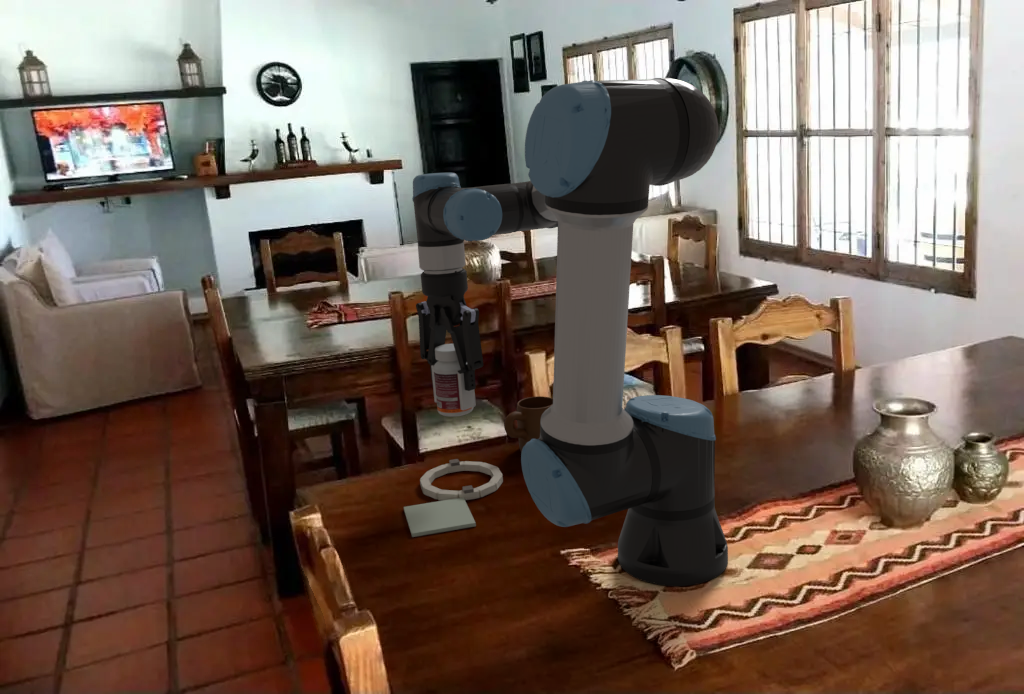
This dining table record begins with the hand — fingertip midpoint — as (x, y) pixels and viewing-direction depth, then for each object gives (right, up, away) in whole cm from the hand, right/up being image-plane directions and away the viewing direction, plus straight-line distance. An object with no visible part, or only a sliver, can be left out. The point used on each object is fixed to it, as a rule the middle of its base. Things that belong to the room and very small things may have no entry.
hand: (454, 403), depth 147 cm
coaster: (-2, -18, -9) cm, 20 cm away
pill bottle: (0, -1, 0) cm, 2 cm away
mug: (+13, -10, +16) cm, 23 cm away
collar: (+1, -14, +4) cm, 15 cm away
